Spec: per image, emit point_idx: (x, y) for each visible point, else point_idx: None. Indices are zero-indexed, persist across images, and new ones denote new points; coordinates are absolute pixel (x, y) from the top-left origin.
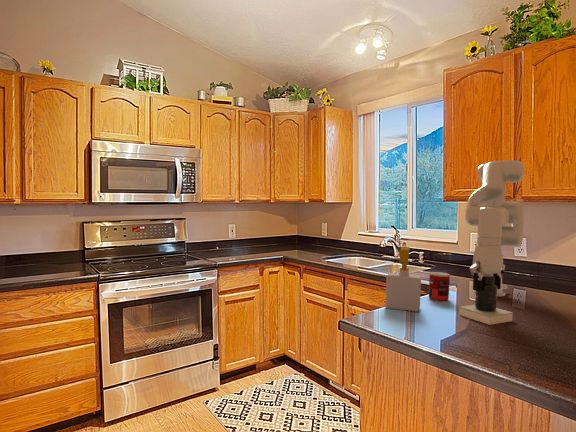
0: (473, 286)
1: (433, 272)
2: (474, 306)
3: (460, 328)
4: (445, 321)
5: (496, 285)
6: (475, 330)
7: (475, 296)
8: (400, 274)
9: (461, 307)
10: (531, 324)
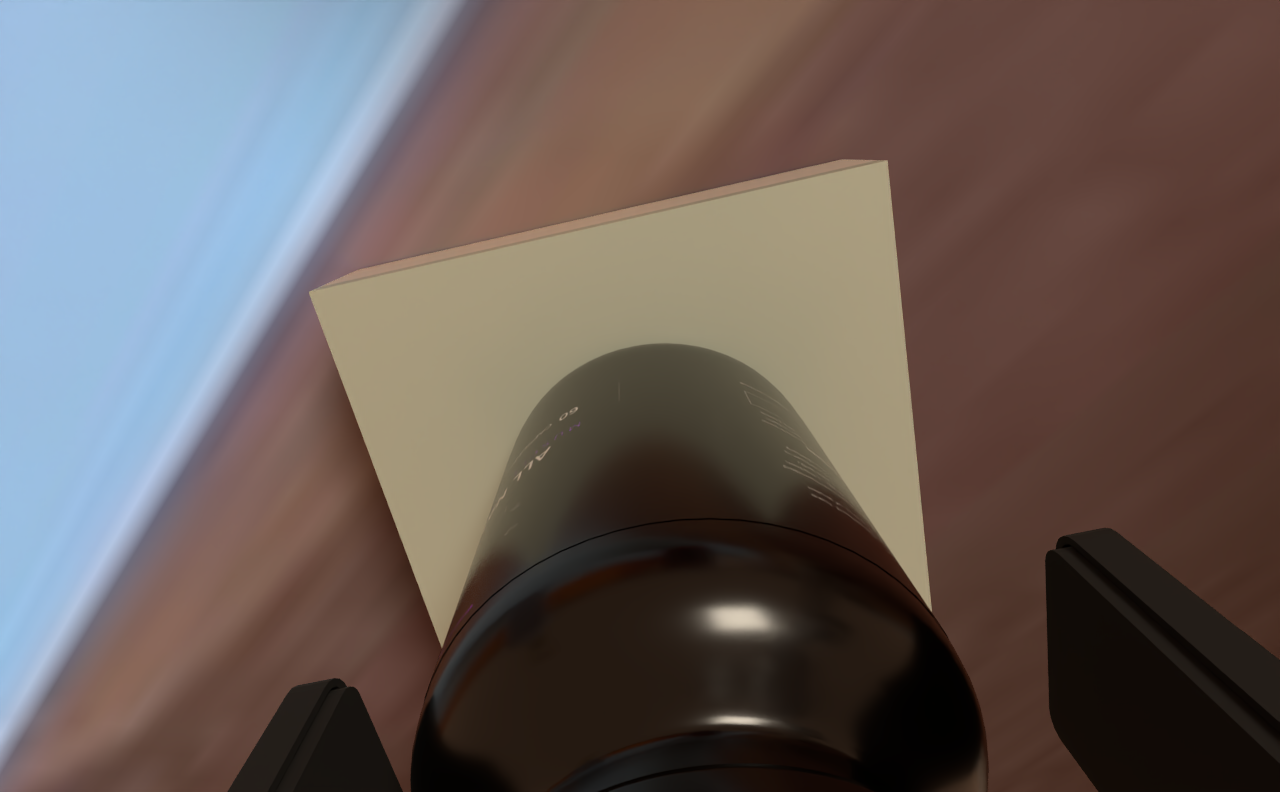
0: (257, 769)
1: None
2: (596, 311)
3: (81, 728)
4: (3, 511)
5: (1107, 735)
6: (218, 786)
7: (517, 470)
8: None
9: (325, 327)
10: (996, 692)
